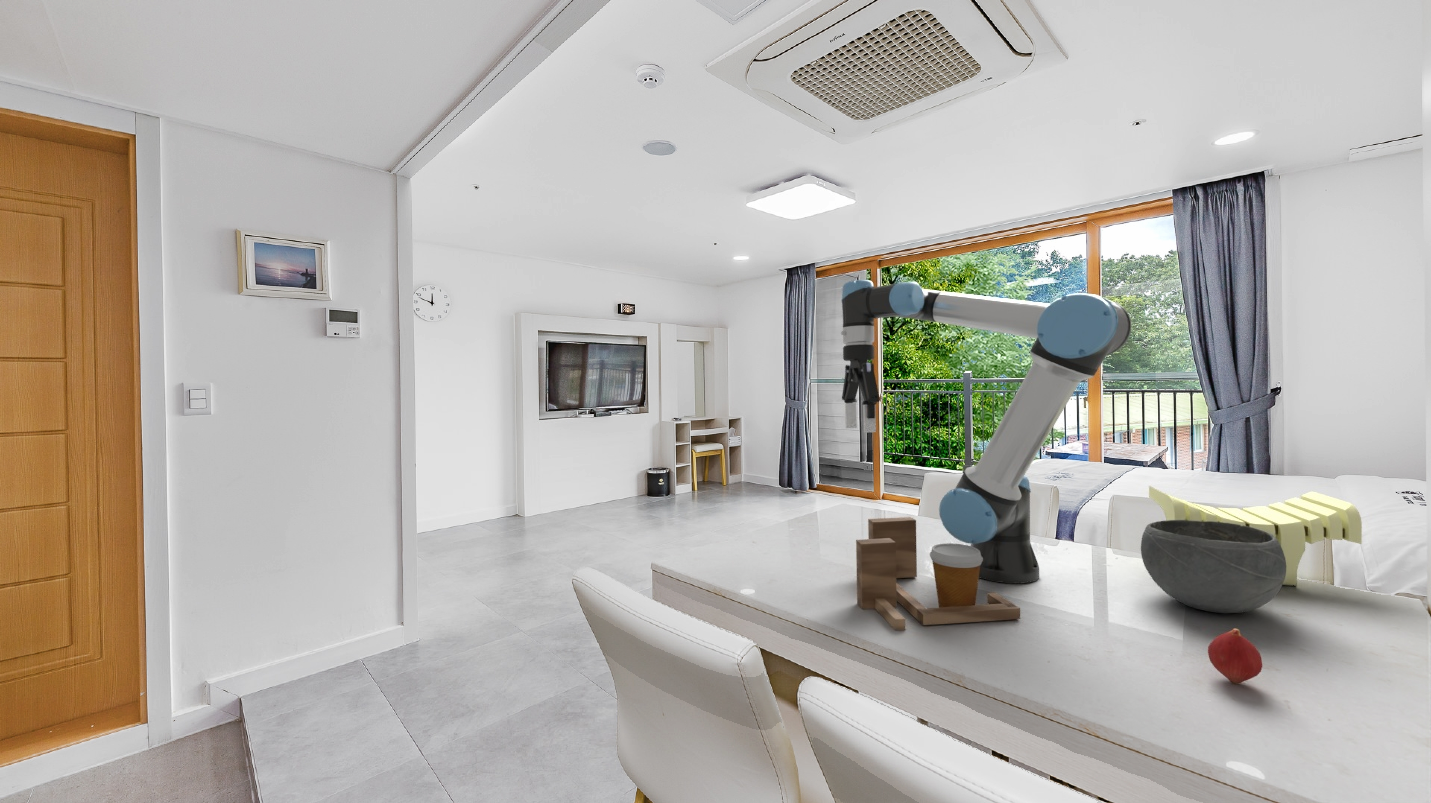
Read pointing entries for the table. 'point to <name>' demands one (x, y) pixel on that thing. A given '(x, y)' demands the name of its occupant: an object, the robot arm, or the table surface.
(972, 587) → the disposable coffee cup
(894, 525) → the bent wooden rail
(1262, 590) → the bowl
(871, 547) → the wooden mallet
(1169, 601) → the table surface
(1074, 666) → the table surface
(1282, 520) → the slatted curved stool
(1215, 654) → the onion
